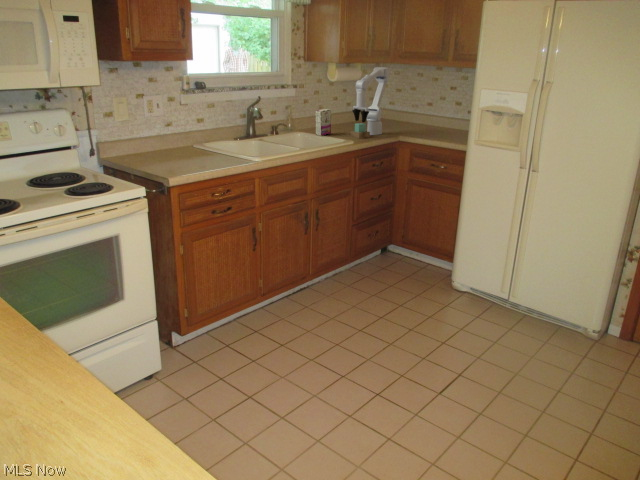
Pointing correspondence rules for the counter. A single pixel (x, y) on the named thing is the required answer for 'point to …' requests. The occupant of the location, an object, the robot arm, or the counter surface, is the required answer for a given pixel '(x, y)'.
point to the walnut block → (359, 134)
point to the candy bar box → (323, 122)
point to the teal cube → (360, 127)
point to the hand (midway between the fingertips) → (360, 121)
